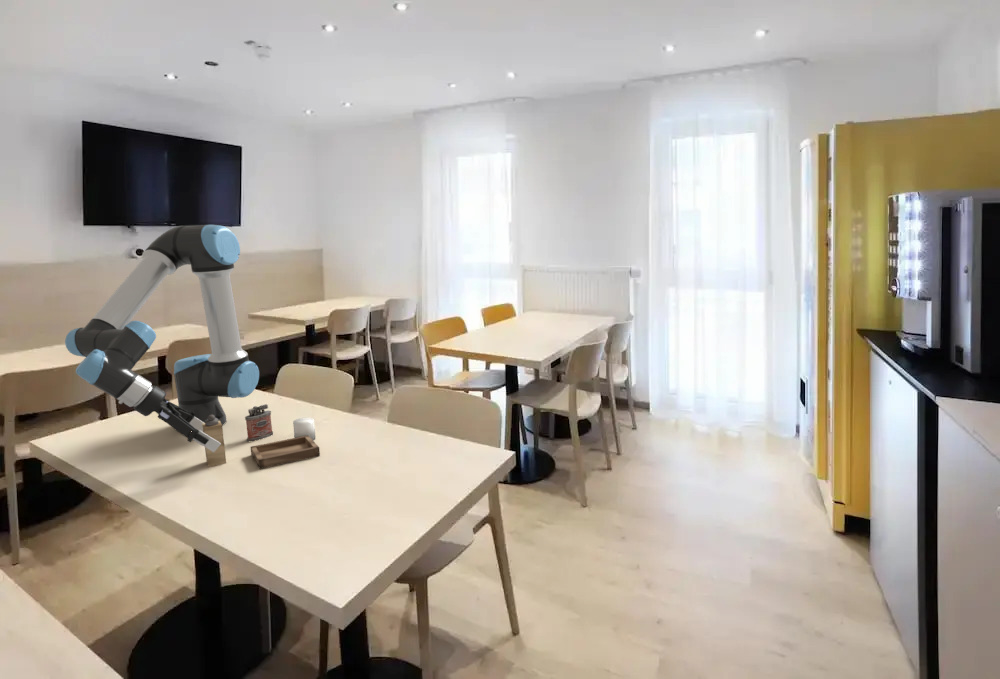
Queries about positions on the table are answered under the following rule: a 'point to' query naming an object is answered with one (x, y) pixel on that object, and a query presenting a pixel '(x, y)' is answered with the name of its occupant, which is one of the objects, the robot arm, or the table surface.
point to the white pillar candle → (304, 427)
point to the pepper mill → (216, 432)
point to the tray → (284, 451)
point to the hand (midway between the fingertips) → (214, 440)
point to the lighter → (258, 423)
